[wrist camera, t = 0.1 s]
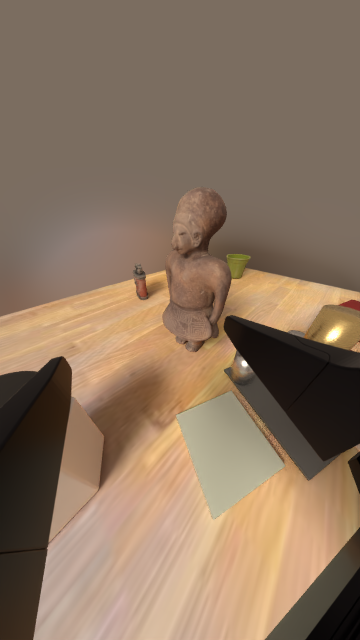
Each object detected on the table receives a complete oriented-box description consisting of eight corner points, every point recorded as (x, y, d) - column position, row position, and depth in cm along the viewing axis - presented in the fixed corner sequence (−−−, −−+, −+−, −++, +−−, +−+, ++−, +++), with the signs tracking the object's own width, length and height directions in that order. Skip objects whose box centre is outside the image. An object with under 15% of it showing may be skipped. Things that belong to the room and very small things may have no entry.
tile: (283, 467, 16) (285, 465, 16) (212, 520, 13) (213, 520, 13) (230, 392, 23) (231, 390, 23) (176, 417, 20) (176, 415, 20)
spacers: (391, 409, 21) (425, 390, 18) (309, 480, 15) (340, 467, 12) (294, 344, 31) (306, 325, 29) (225, 370, 26) (231, 350, 23)
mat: (389, 410, 21) (391, 409, 21) (308, 480, 15) (309, 480, 15) (292, 344, 32) (293, 343, 32) (224, 370, 26) (224, 369, 26)
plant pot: (239, 282, 62) (244, 260, 57) (219, 276, 67) (222, 256, 62) (248, 276, 68) (253, 256, 63) (229, 272, 73) (233, 253, 68)
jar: (122, 440, 18) (87, 383, 11) (63, 566, 11) (-107, 619, 5) (61, 419, 20) (-1, 359, 13) (-19, 519, 13) (-233, 506, 6)
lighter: (135, 291, 53) (130, 261, 48) (144, 289, 54) (140, 261, 49) (139, 300, 47) (134, 268, 42) (150, 298, 48) (146, 267, 43)
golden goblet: (324, 389, 23) (394, 322, 16) (300, 403, 21) (367, 335, 14) (290, 362, 27) (333, 299, 20) (268, 372, 26) (306, 307, 18)
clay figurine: (152, 338, 33) (134, 188, 19) (184, 320, 39) (188, 195, 24) (197, 375, 25) (224, 171, 11) (228, 346, 31) (272, 187, 17)
